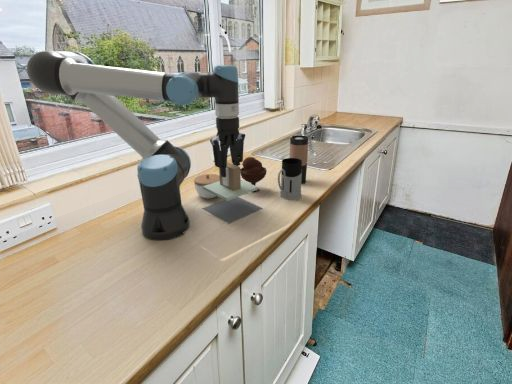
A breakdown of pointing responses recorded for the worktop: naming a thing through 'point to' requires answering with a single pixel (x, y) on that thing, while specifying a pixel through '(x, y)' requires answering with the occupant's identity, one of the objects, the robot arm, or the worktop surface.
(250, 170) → the ice cream bowl
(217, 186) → the board
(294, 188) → the glass holder
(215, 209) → the square tray
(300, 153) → the travel mug
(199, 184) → the lidded jar
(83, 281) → the worktop surface
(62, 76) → the robot arm
